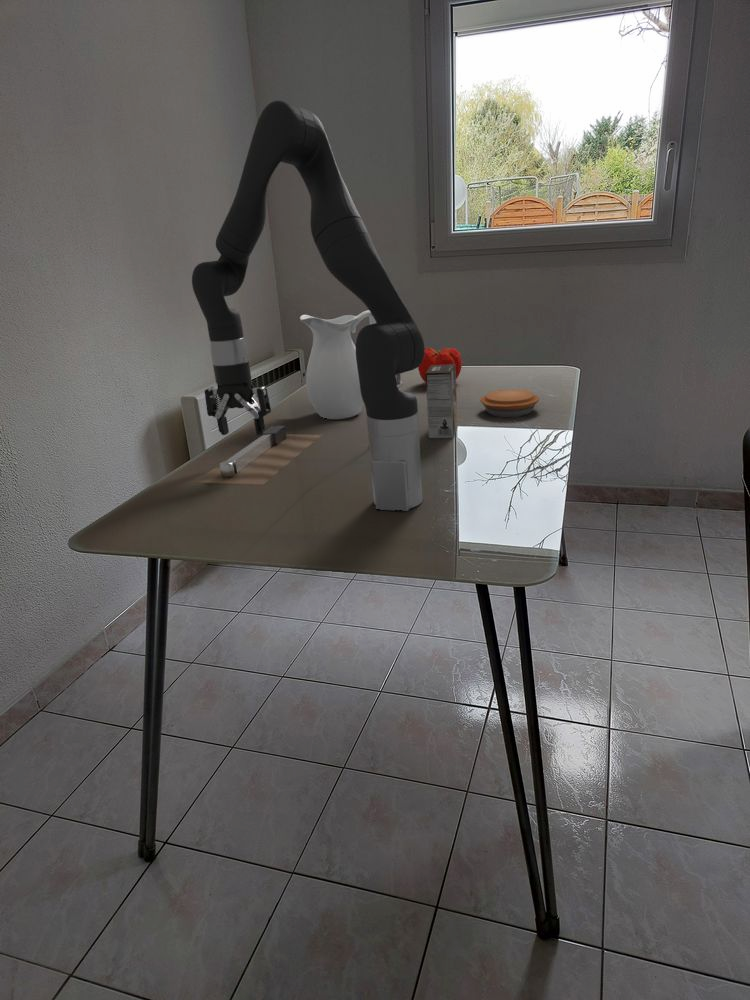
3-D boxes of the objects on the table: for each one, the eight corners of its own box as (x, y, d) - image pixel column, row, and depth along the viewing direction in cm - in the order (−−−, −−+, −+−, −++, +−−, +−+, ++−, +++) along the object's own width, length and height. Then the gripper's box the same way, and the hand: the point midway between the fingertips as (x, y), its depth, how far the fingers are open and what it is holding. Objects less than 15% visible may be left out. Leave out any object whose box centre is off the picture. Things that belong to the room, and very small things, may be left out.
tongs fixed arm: (231, 478, 141) (228, 465, 139) (217, 478, 141) (214, 465, 140) (285, 438, 165) (283, 426, 164) (273, 437, 166) (271, 426, 165)
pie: (510, 401, 188) (510, 383, 186) (551, 411, 176) (552, 392, 174) (468, 412, 181) (467, 394, 179) (508, 423, 168) (508, 404, 167)
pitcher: (316, 426, 179) (304, 320, 168) (304, 411, 194) (293, 313, 183) (400, 413, 184) (394, 309, 174) (383, 400, 200) (376, 304, 189)
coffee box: (432, 427, 170) (429, 364, 163) (457, 427, 168) (456, 363, 162) (428, 438, 161) (425, 372, 155) (454, 438, 160) (452, 371, 154)
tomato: (415, 389, 209) (413, 352, 205) (425, 379, 222) (424, 343, 217) (457, 389, 205) (456, 351, 201) (465, 379, 218) (464, 342, 213)
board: (263, 491, 136) (262, 484, 136) (195, 488, 141) (193, 482, 140) (322, 440, 166) (321, 434, 166) (264, 439, 171) (263, 434, 170)
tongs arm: (240, 472, 143) (238, 459, 142) (233, 472, 144) (230, 459, 143) (286, 437, 165) (285, 426, 164) (279, 437, 166) (278, 425, 165)
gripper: (191, 365, 140) (205, 439, 146) (253, 362, 136) (264, 439, 142) (209, 358, 147) (222, 429, 152) (268, 356, 142) (279, 429, 148)
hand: (242, 434), depth 147 cm, fingers open, 8 cm apart
